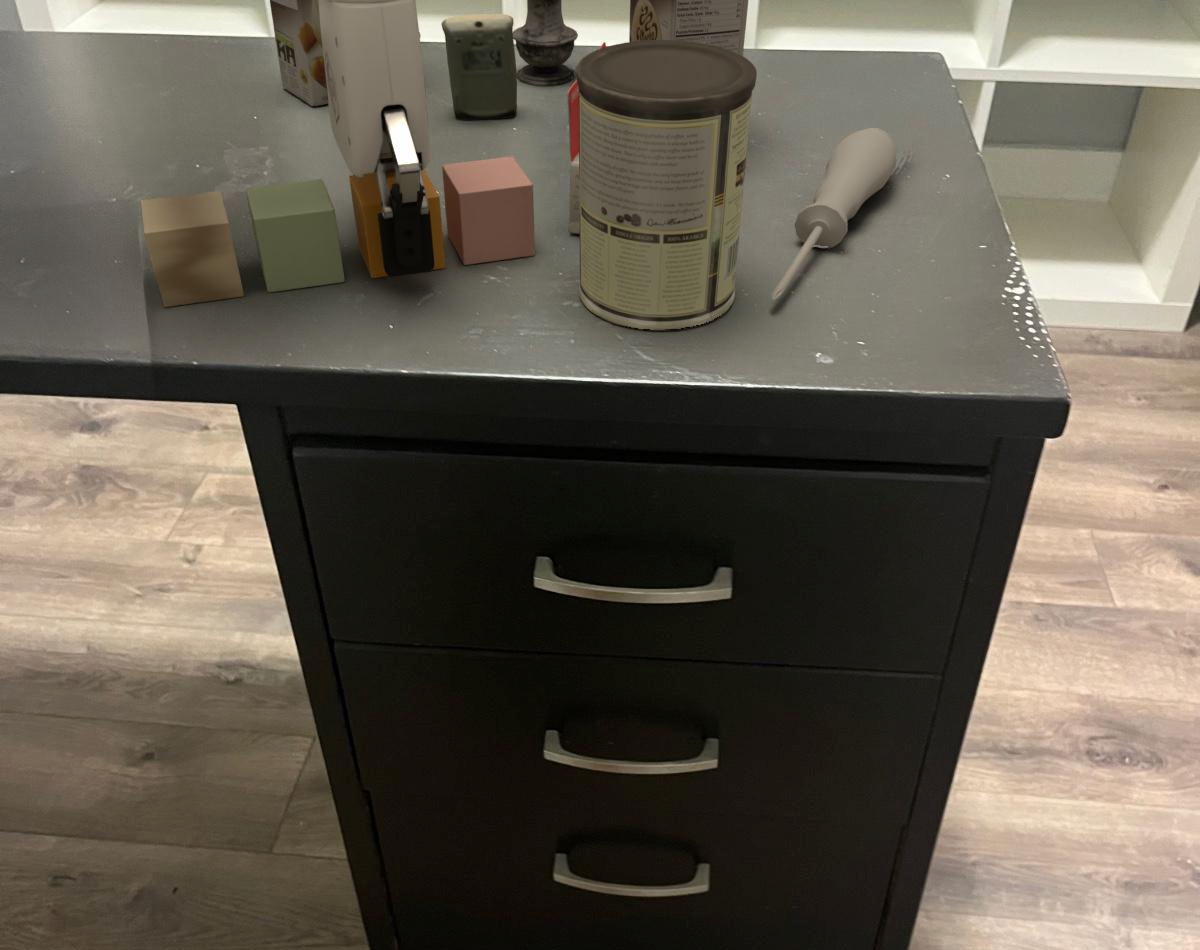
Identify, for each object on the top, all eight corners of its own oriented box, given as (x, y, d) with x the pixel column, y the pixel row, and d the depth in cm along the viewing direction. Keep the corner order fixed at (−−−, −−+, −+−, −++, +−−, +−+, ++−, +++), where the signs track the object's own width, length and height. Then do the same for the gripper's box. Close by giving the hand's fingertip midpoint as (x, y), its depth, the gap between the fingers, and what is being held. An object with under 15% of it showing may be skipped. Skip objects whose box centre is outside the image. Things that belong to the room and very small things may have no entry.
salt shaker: (556, 91, 104) (555, -61, 96) (501, 79, 106) (494, -70, 98) (589, 72, 108) (590, -75, 100) (534, 61, 110) (531, -84, 102)
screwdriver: (741, 330, 76) (732, 269, 74) (847, 171, 92) (842, 117, 90) (813, 330, 74) (805, 268, 72) (908, 168, 90) (905, 112, 88)
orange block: (371, 278, 78) (362, 205, 74) (358, 246, 81) (348, 175, 78) (445, 268, 79) (439, 196, 76) (429, 237, 82) (423, 166, 79)
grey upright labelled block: (471, 132, 97) (465, 29, 91) (436, 114, 100) (428, 13, 94) (527, 116, 100) (524, 15, 94) (491, 99, 103) (487, 0, 97)
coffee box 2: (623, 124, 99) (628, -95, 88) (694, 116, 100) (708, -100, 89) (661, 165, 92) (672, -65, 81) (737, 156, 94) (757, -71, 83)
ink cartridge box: (634, 177, 90) (638, 42, 84) (600, 239, 82) (602, 95, 76) (602, 174, 91) (604, 39, 84) (566, 235, 83) (565, 92, 76)
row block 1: (163, 307, 74) (144, 232, 71) (159, 272, 78) (140, 199, 75) (244, 296, 76) (228, 222, 72) (236, 262, 79) (221, 190, 76)
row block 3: (464, 265, 79) (458, 193, 76) (447, 234, 83) (441, 164, 79) (535, 255, 80) (533, 184, 77) (515, 225, 84) (513, 155, 81)
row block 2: (267, 293, 76) (253, 219, 73) (259, 259, 80) (245, 187, 76) (345, 282, 77) (334, 209, 74) (333, 249, 81) (322, 178, 77)
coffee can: (567, 261, 80) (566, 41, 70) (716, 253, 81) (734, 35, 72) (588, 337, 72) (589, 102, 63) (751, 327, 73) (777, 94, 64)
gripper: (278, -74, 73) (319, 195, 84) (321, 5, 61) (362, 307, 72) (398, -82, 75) (422, 182, 86) (463, -6, 62) (480, 290, 74)
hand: (394, 239), depth 79 cm, fingers open, 9 cm apart
